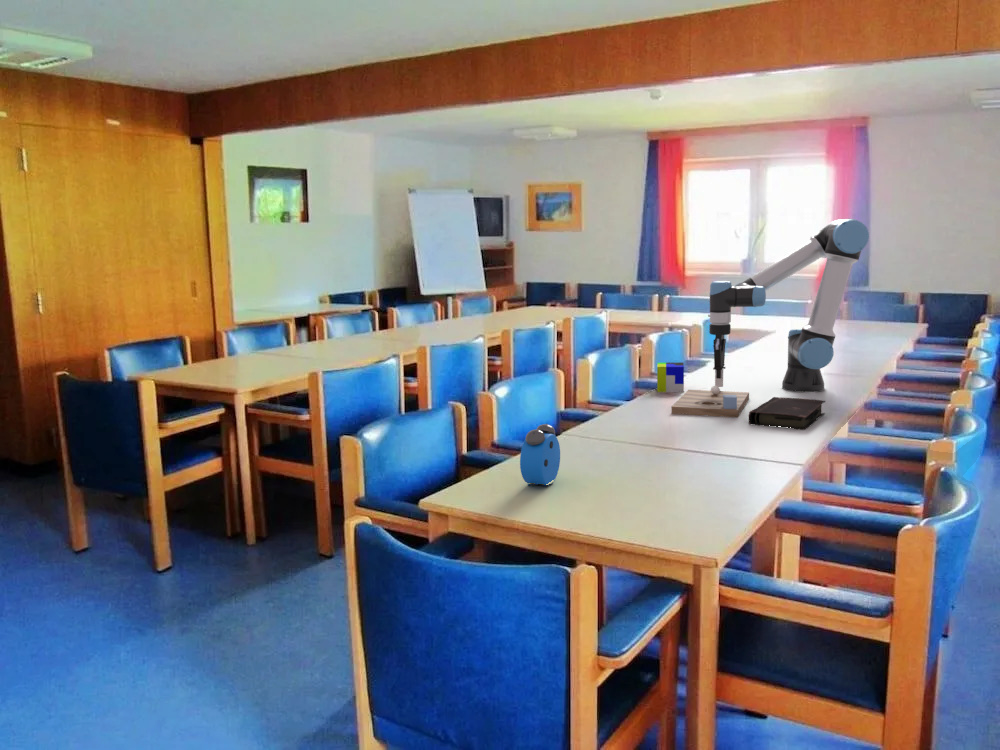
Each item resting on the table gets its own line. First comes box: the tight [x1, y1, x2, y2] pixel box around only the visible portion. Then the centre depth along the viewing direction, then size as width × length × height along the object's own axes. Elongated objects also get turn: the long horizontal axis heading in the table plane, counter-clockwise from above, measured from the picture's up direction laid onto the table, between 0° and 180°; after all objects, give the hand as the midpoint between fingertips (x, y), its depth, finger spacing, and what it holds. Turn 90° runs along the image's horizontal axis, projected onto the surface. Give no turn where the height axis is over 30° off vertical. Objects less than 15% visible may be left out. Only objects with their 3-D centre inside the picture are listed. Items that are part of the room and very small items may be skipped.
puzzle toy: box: [656, 362, 685, 393], centre depth 320 cm, size 10×10×10 cm
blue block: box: [723, 395, 737, 409], centre depth 275 cm, size 4×4×4 cm
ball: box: [710, 385, 721, 395], centre depth 296 cm, size 3×3×3 cm
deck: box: [671, 389, 750, 418], centre depth 290 cm, size 30×22×2 cm
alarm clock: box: [519, 423, 561, 486], centre depth 208 cm, size 13×6×15 cm, turn 154°
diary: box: [748, 396, 826, 430], centre depth 267 cm, size 19×25×5 cm
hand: (719, 386), depth 305 cm, fingers closed
